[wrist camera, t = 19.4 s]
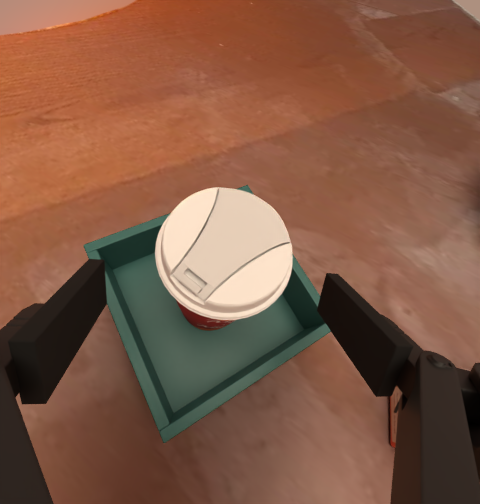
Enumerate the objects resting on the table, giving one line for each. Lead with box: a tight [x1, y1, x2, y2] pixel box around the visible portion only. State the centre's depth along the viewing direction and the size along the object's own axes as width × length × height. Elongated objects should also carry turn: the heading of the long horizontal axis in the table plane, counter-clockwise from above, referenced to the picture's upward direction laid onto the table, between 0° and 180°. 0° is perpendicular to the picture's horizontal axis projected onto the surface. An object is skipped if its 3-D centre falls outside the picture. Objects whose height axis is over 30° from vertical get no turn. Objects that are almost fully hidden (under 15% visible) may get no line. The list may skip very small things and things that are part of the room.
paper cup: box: [155, 187, 293, 331], centre depth 20 cm, size 8×8×14 cm
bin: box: [84, 185, 331, 443], centre depth 25 cm, size 16×16×6 cm
